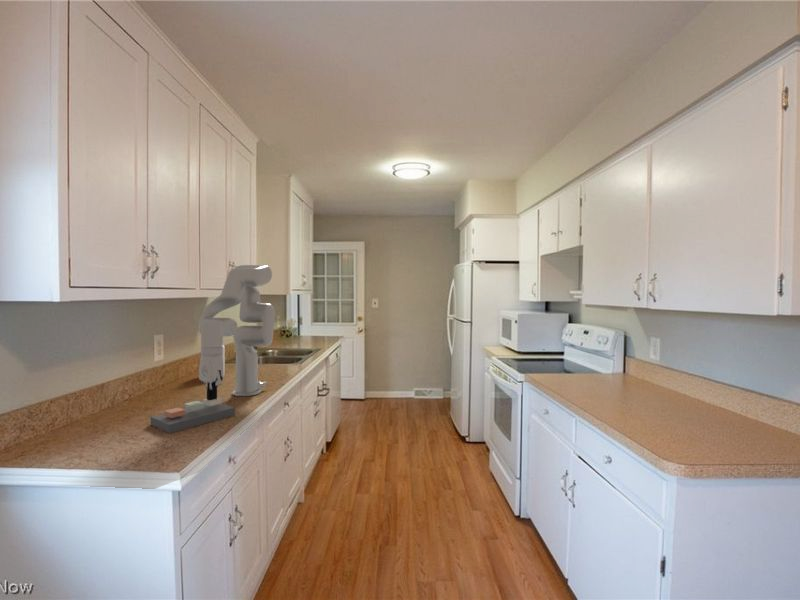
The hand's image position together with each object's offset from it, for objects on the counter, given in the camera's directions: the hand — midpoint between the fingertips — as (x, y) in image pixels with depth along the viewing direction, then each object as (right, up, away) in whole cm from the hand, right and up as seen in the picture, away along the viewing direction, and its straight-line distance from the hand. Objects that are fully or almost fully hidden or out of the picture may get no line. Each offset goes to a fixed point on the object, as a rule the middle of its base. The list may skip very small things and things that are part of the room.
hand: (211, 399), depth 153 cm
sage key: (-4, -2, -5) cm, 7 cm away
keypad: (-4, -7, -5) cm, 9 cm away
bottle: (-32, -5, +70) cm, 77 cm away
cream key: (0, -2, 0) cm, 2 cm away
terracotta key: (-8, -3, -11) cm, 14 cm away
